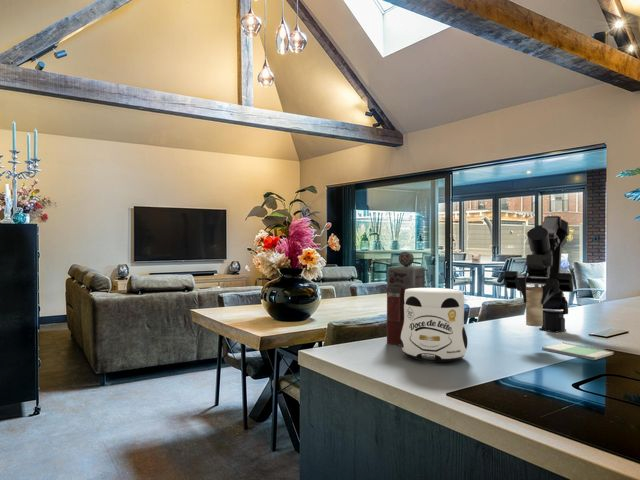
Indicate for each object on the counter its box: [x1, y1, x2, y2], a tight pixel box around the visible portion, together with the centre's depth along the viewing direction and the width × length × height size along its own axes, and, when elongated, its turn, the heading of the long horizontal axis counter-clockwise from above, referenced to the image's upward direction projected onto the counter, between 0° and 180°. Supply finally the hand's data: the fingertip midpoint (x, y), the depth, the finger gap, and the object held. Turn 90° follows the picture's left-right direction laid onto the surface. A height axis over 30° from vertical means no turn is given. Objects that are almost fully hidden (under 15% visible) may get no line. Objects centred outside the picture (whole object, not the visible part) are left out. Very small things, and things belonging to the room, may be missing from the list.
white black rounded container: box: [400, 287, 468, 363], centre depth 122 cm, size 17×17×18 cm
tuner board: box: [541, 341, 615, 361], centre depth 129 cm, size 14×12×1 cm
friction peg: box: [525, 286, 543, 327], centre depth 133 cm, size 4×4×11 cm
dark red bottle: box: [386, 251, 426, 346], centre depth 140 cm, size 9×11×28 cm
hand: (533, 302), depth 132 cm, fingers closed on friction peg, 4 cm apart
